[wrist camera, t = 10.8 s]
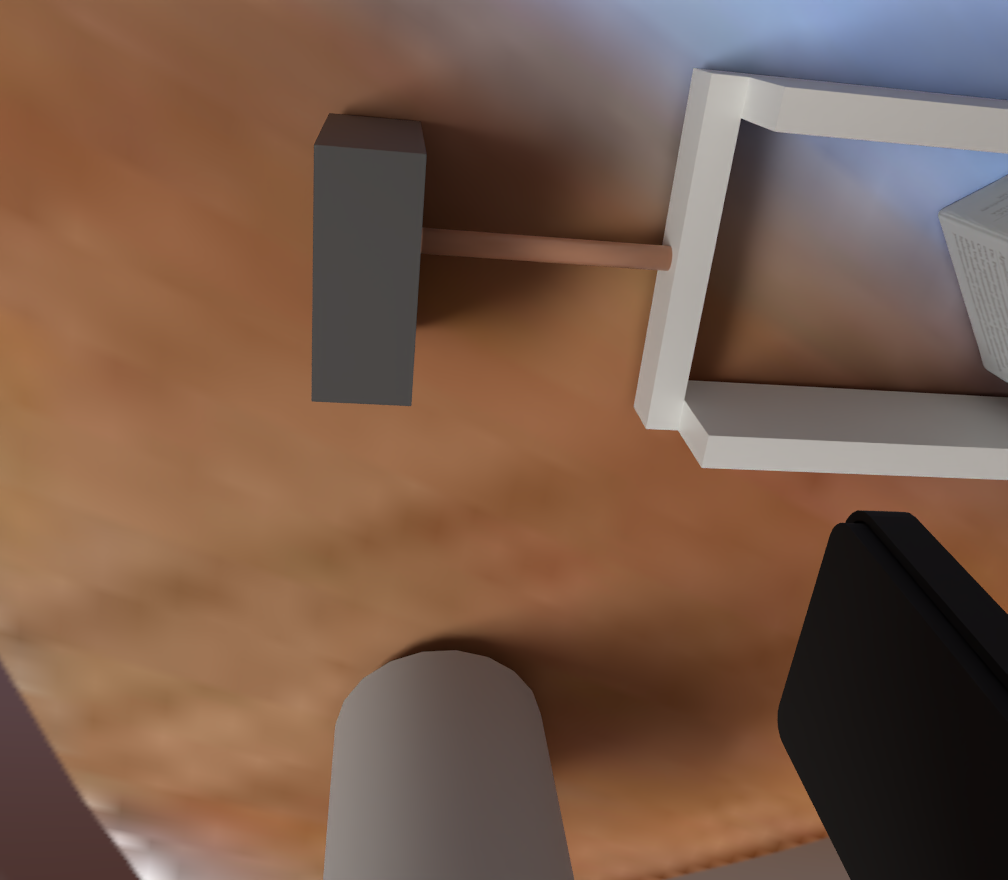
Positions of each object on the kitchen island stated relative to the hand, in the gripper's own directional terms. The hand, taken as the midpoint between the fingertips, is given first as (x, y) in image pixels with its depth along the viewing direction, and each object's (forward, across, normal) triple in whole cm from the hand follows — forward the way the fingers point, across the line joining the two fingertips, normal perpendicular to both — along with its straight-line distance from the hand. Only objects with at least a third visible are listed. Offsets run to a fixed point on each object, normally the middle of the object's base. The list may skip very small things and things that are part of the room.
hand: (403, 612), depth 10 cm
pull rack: (+18, -11, 0) cm, 21 cm away
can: (+18, -2, +18) cm, 26 cm away
